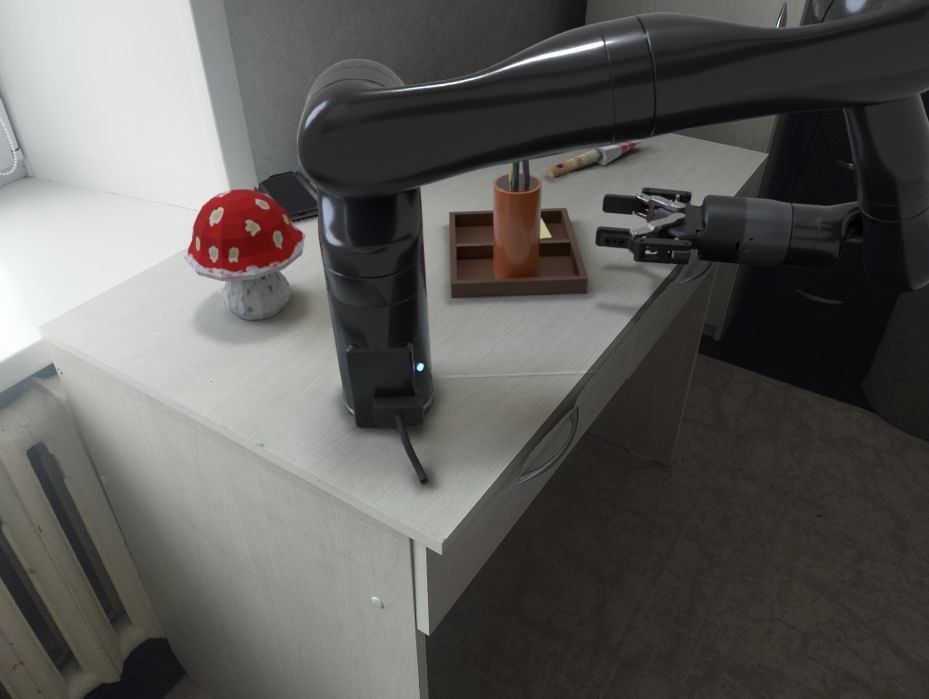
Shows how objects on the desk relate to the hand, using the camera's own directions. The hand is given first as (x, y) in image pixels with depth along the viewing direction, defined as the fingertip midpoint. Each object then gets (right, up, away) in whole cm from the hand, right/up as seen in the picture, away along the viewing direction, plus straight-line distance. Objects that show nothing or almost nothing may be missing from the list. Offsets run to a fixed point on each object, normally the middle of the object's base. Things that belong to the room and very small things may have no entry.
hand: (599, 218), depth 89 cm
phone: (-43, +8, +28) cm, 52 cm away
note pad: (-8, 0, +15) cm, 16 cm away
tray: (-10, -3, +11) cm, 15 cm away
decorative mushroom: (-41, -10, +4) cm, 43 cm away
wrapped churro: (+6, +15, +36) cm, 39 cm away
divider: (-10, -3, +11) cm, 15 cm away
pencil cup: (-9, -6, +7) cm, 13 cm away
